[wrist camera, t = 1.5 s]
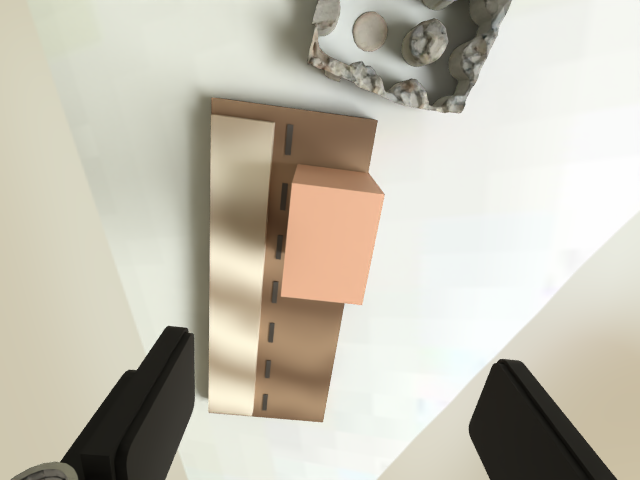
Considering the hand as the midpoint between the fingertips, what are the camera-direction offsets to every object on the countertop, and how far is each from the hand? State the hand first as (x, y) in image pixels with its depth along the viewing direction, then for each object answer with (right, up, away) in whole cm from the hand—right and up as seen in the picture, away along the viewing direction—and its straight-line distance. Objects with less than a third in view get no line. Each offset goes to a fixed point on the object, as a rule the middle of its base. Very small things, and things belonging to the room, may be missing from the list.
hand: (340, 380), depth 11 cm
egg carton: (+4, +18, +12) cm, 22 cm away
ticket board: (-4, +1, +18) cm, 19 cm away
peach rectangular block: (0, +6, +14) cm, 16 cm away
